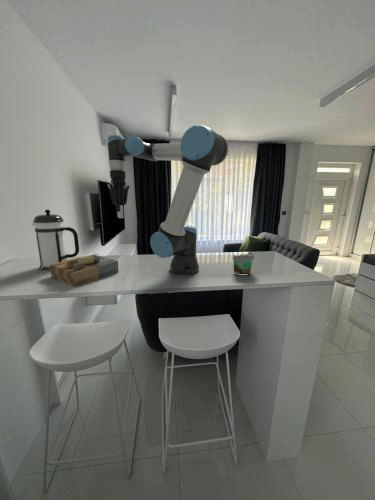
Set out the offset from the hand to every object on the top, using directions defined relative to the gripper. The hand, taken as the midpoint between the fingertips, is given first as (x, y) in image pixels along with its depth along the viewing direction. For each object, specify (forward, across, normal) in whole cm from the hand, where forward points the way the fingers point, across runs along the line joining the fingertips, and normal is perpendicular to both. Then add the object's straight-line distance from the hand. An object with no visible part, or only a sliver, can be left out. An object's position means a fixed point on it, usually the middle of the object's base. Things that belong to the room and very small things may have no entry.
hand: (120, 217), depth 111 cm
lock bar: (+20, +23, 0) cm, 30 cm away
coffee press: (+26, +21, -26) cm, 43 cm away
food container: (+27, -24, +61) cm, 71 cm away
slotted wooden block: (+26, +20, -3) cm, 33 cm away
